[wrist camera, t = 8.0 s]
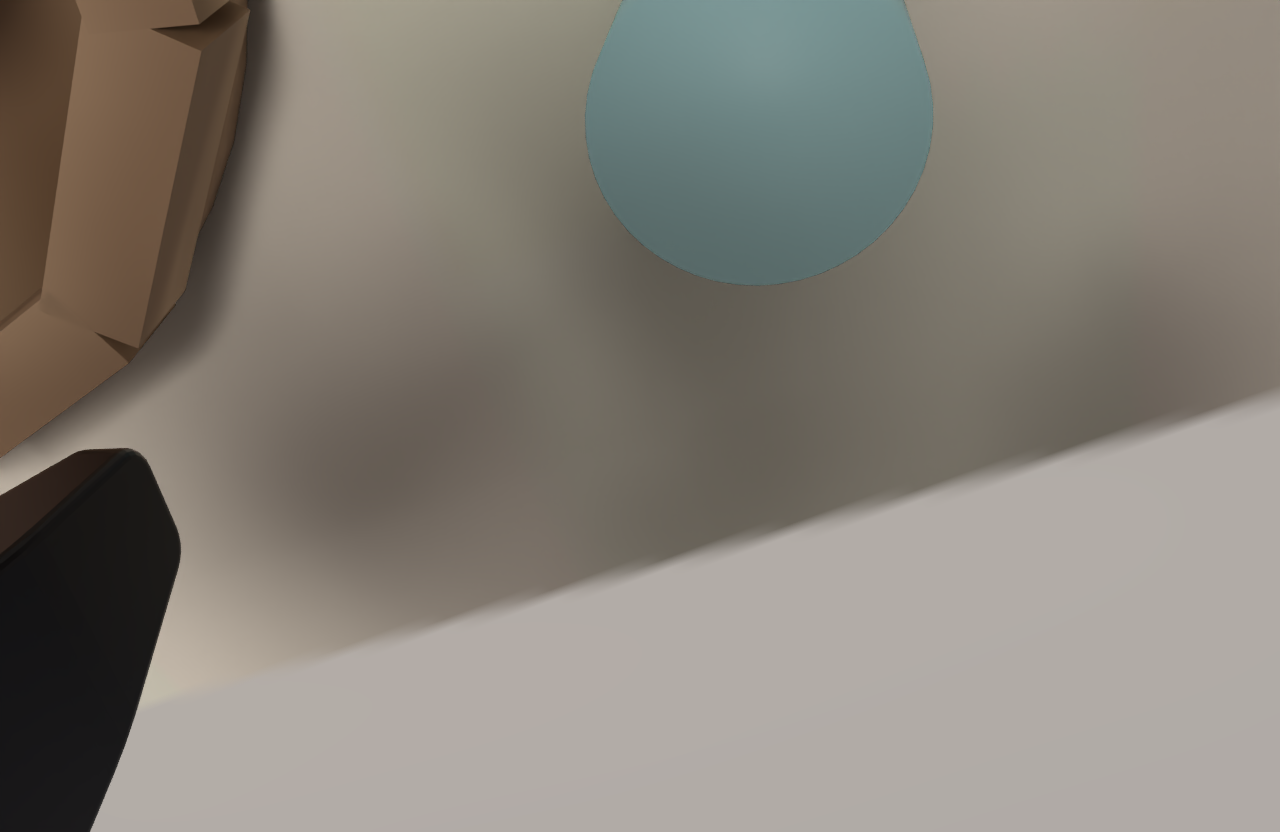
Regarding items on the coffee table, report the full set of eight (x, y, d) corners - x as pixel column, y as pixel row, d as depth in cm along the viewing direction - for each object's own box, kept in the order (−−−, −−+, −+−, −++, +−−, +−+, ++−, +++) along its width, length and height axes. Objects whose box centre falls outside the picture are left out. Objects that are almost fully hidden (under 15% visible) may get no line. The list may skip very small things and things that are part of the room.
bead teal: (890, -146, 15) (921, -82, 12) (912, 141, 17) (942, 262, 14) (596, -89, 16) (549, -13, 13) (651, 180, 18) (622, 304, 15)
